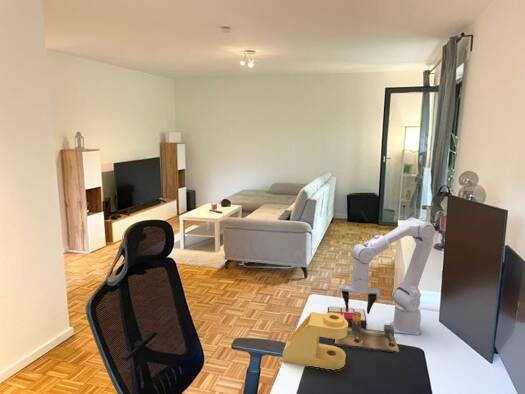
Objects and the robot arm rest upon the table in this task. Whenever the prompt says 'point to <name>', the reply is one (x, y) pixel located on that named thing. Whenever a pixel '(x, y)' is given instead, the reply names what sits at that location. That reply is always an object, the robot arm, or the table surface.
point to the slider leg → (356, 324)
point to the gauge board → (371, 339)
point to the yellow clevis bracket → (317, 342)
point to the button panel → (349, 314)
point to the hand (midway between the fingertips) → (357, 311)
